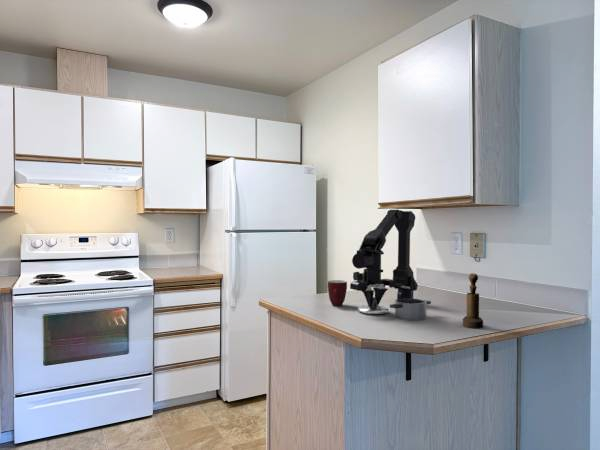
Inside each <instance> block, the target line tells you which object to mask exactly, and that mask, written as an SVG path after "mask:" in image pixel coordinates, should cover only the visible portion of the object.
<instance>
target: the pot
mask: <svg viewBox="0 0 600 450" xmlns="http://www.w3.org/2000/svg"><path fill="white" fill-rule="evenodd" d="M431 304H432V302H431V300H426V299H424V300H423V299H420V298H413V299H412V298H402V299H395V301H394V303H391V304H389V308H391V309H395V312H394V313H395V314H394V316H395V318H396V319H399V320H405V321H410V322H411V321H417V322H418V321H424V320H426V319H427V305H431Z"/></svg>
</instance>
